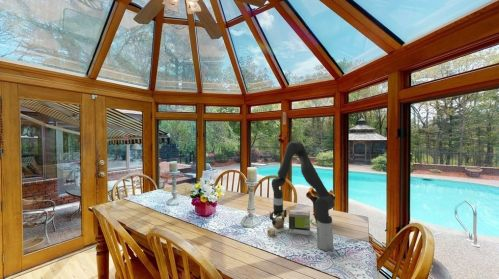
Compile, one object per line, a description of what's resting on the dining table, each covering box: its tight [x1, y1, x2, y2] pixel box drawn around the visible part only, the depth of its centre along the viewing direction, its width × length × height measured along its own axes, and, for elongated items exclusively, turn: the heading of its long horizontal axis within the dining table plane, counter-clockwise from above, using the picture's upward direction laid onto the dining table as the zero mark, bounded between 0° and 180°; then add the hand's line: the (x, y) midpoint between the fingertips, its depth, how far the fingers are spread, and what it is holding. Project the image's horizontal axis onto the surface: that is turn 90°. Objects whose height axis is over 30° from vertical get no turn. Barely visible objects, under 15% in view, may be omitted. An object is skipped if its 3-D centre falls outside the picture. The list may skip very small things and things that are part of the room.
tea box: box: [288, 209, 311, 236], centre depth 170 cm, size 15×10×15 cm
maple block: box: [266, 228, 276, 237], centre depth 166 cm, size 4×4×4 cm
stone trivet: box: [267, 224, 289, 234], centre depth 177 cm, size 12×12×1 cm
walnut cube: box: [272, 217, 285, 229], centre depth 177 cm, size 6×6×6 cm
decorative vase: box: [305, 186, 336, 227], centre depth 187 cm, size 21×23×28 cm
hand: (278, 223), depth 177 cm, fingers open, 8 cm apart
